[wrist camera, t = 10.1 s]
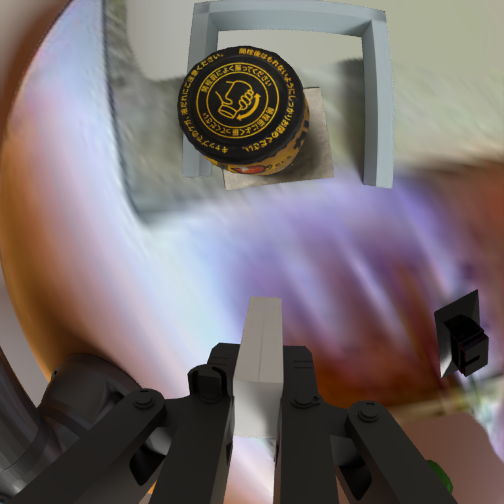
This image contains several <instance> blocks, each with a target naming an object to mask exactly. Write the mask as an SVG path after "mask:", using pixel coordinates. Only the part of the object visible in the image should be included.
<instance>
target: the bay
mask: <svg viewBox="0 0 504 504" xmlns="http://www.w3.org/2000/svg"><path fill="white" fill-rule="evenodd" d="M250 29H251V30H253V29H278V30H302V31H316V32H326V33H335V34H343V35H350V36H357V37H362V48H363V64H364V86H365V154H364V178H363V185H370V186H376V187H385V188H392V179H393V157H394V102H393V81H392V66H391V55H390V45H389V37H388V29H387V22H386V15H385V11H382V10H377V9H373V8H368V7H362V6H356V5H350V4H343V3H336V2H327V1H317V0H220V1H210V2H202V3H195V4H194V12H193V19H192V28H191V37H190V47H189V57H188V70H187V74H188V73H189V71H190V70H191V69H192V67H193V66H194V65H195V64H197V63H199V62H200V61H202V60H203V59H205V58H206V57H207V56H209V55H210V54H211V53H213V52H216V51H217V43H218V31H229V30H250ZM211 169H212V163H211V162H210V161H209V160H207V159H206V158H205V157H204V155H202V154H201V153H200V152H199V151H197V150H196V149H195V148H194V146H193V145H192V144H191V143H190V142H189V141H188V139H187V137H186V135H185V134H184V135H183V172H182V177H209V176H211Z"/></svg>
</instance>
